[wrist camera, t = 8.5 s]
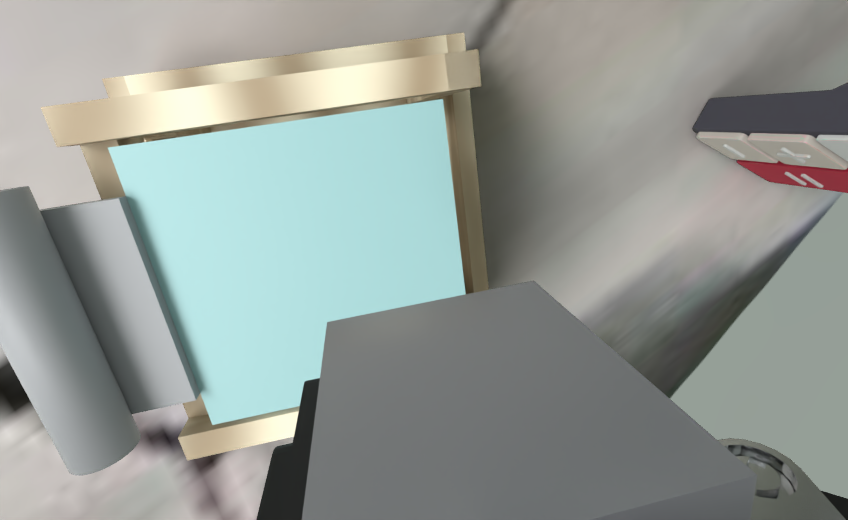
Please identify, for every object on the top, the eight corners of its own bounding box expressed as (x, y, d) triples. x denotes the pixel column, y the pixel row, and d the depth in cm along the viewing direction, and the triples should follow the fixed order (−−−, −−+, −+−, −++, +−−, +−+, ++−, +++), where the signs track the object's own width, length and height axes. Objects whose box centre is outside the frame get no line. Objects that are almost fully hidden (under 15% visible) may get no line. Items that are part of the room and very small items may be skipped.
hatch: (438, 100, 20) (459, 94, 16) (469, 358, 24) (491, 401, 20) (-18, 166, 17) (-118, 178, 14) (112, 435, 22) (62, 499, 18)
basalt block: (533, 281, 10) (756, 475, 5) (543, 443, 12) (716, 735, 6) (327, 322, 10) (291, 598, 4) (367, 486, 11) (381, 848, 6)
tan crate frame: (444, 47, 33) (523, -16, 18) (473, 302, 40) (545, 411, 25) (148, 87, 30) (-51, 52, 15) (235, 350, 38) (158, 501, 23)
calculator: (684, 137, 38) (877, 145, 24) (711, 91, 37) (928, 72, 23) (766, 185, 41) (980, 217, 27) (792, 143, 40) (1029, 155, 26)
